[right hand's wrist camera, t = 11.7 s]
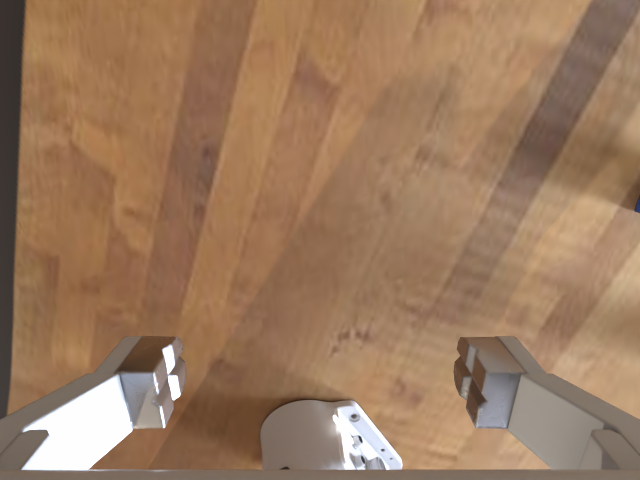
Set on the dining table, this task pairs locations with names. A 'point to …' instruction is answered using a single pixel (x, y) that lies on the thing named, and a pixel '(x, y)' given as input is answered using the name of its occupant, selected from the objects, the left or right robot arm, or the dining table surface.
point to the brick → (638, 206)
